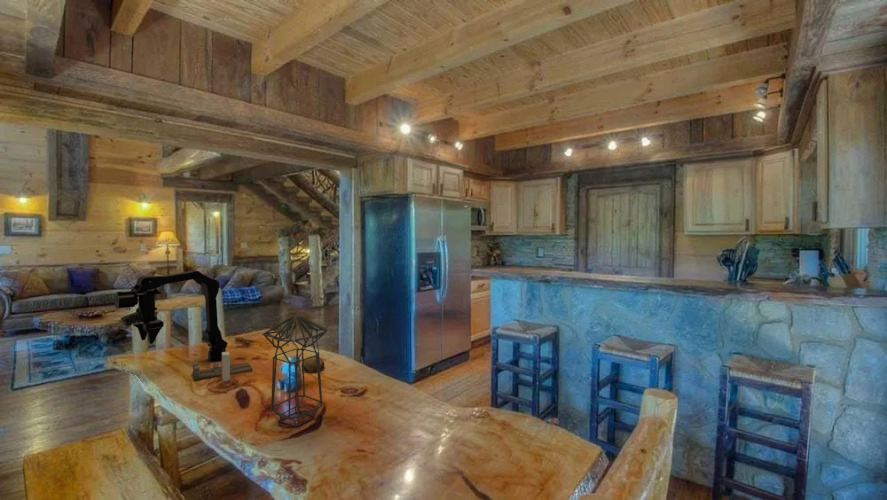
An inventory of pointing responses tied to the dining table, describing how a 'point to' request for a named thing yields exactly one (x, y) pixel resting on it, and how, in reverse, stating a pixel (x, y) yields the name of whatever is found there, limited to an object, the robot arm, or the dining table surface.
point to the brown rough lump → (312, 365)
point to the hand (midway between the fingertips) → (147, 341)
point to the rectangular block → (226, 366)
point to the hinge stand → (218, 370)
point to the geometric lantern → (301, 323)
